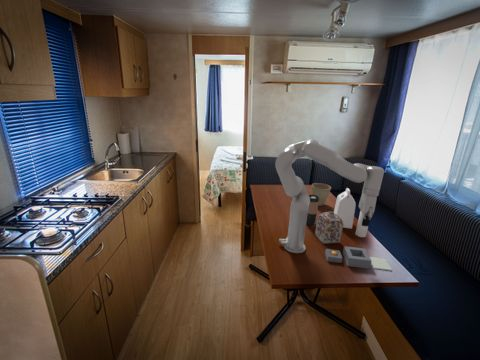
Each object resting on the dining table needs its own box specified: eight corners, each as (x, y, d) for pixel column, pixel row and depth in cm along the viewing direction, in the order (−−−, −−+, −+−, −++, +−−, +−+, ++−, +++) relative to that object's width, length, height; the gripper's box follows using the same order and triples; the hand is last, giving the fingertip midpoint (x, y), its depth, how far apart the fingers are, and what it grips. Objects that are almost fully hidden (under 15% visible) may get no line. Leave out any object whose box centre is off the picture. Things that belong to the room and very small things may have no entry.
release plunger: (330, 259, 144) (331, 253, 143) (329, 255, 147) (330, 250, 146) (336, 259, 144) (337, 254, 143) (335, 256, 147) (336, 251, 146)
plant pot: (330, 208, 210) (333, 189, 205) (312, 207, 210) (314, 188, 205) (325, 200, 225) (327, 183, 219) (307, 200, 225) (310, 182, 220)
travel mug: (317, 225, 182) (321, 198, 175) (307, 226, 180) (311, 199, 173) (311, 220, 189) (315, 194, 182) (302, 221, 187) (305, 195, 180)
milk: (352, 228, 179) (359, 193, 171) (334, 226, 181) (340, 191, 173) (348, 220, 190) (355, 187, 182) (332, 218, 192) (338, 185, 184)
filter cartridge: (356, 236, 137) (363, 208, 131) (354, 231, 142) (360, 204, 137) (367, 237, 136) (374, 210, 131) (364, 232, 141) (370, 205, 136)
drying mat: (373, 268, 138) (374, 267, 138) (367, 257, 148) (368, 256, 147) (391, 270, 137) (392, 269, 137) (384, 259, 146) (385, 258, 146)
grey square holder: (347, 265, 139) (348, 257, 138) (342, 253, 150) (344, 246, 148) (369, 268, 138) (371, 260, 136) (363, 256, 148) (365, 248, 147)
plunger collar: (327, 261, 142) (328, 256, 141) (325, 253, 150) (325, 248, 149) (341, 263, 141) (342, 258, 140) (338, 254, 149) (339, 250, 148)
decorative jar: (340, 243, 161) (345, 216, 155) (322, 244, 159) (327, 217, 153) (330, 233, 172) (335, 208, 166) (314, 234, 170) (318, 209, 164)
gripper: (358, 184, 139) (351, 215, 145) (368, 196, 123) (360, 230, 129) (373, 186, 138) (365, 216, 144) (384, 198, 122) (376, 232, 128)
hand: (363, 222), depth 137 cm, fingers closed on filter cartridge, 5 cm apart
